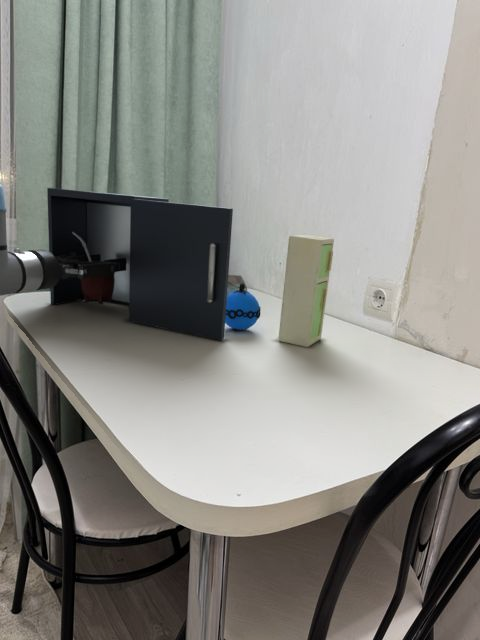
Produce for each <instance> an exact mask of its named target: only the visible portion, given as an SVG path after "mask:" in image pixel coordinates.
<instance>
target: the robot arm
mask: <svg viewBox="0 0 480 640" xmlns="http://www.w3.org/2000/svg"><path fill="white" fill-rule="evenodd" d="M90 258H91V260H92V262H89V259H88V257H87V255H82V256H78V258H76V253H71V256H69V257H68V256H67V255H61V256H54V255H53V254H52V253H51V252H49V250H47V249H29V250H20V248H19V247H14V248H13V251H8V237H7V208H6V202H5V192H4V187H3V186H2V184H1V183H0V297H1V296H7V295H14V294H22V293H30V292H35V291H41V290H42V291H43V290H48V289H49V290H50V288H52V287H54V286H55V285H56V284H57V282H58V281H59V279H68V278H71V277H78V278H79V279H84V278H88V277H96V276H107V277H110V275H114V274H115V272H119V271H126V258H119V259H109V260H104V261H101V255H100V254H95V255H90Z"/></svg>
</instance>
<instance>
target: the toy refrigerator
mask: <svg viewBox="0 0 480 640" xmlns="http://www.w3.org/2000/svg"><path fill="white" fill-rule="evenodd" d="M334 242H335V240H334V237H333V238H332V237H326V236H317V235H309V234H295V235H293V234H292V235H289V237H288V243H287V254H286V261H285V262H286V263H285V272H284V283H283V293H282V302H281V310H280V320H279V328H278V329H279V330H278V342H283V343H287V344H292V345H297V346H301V347H306V348H309V347H310V346H312V345H313V344H315V343H317V342H319V341H321V339H322V333H323V325H324V319H325V310H326V305H327V295H328V287H329V280H330V274H331V273H330V272H331V270H332V264H333V257H334Z"/></svg>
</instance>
